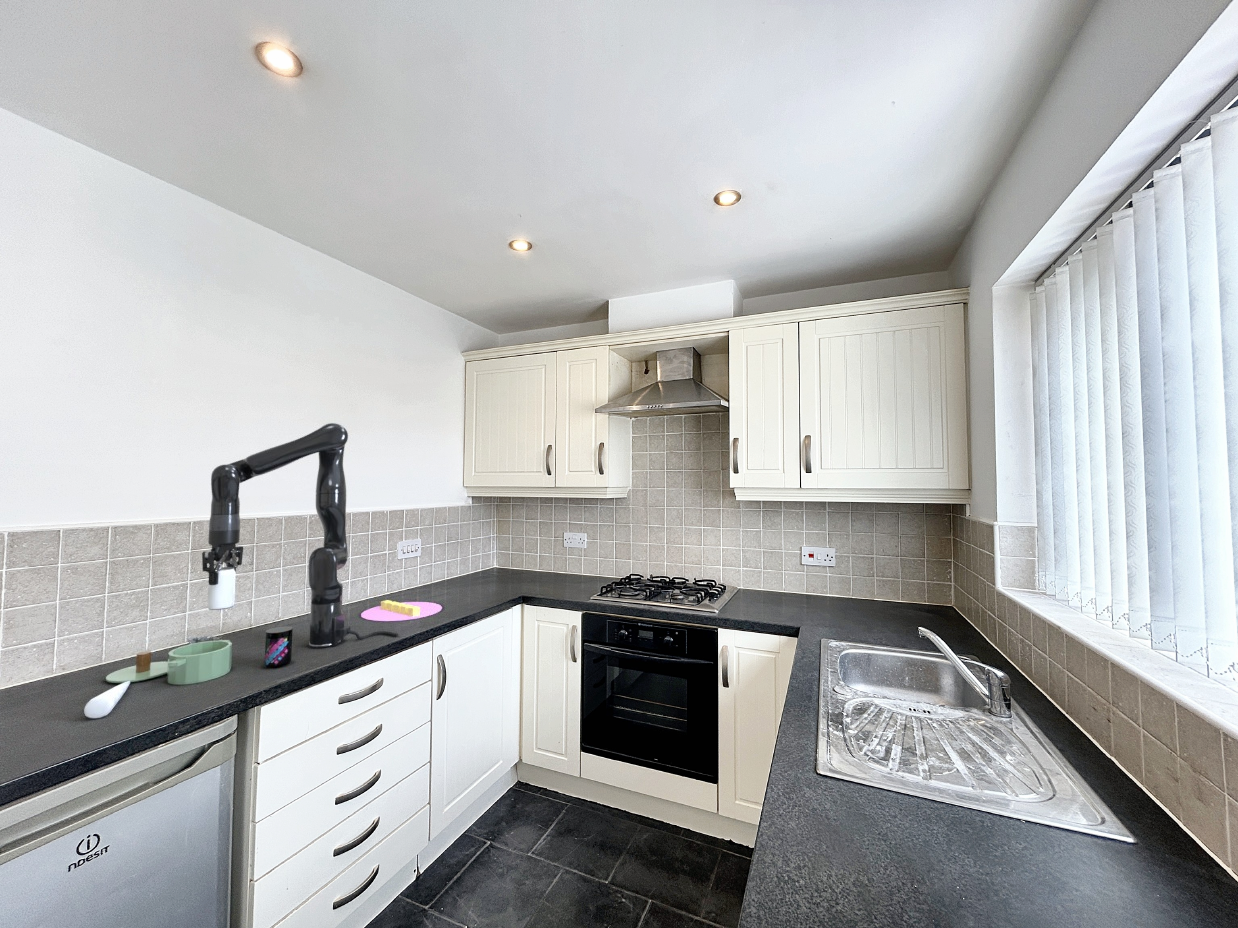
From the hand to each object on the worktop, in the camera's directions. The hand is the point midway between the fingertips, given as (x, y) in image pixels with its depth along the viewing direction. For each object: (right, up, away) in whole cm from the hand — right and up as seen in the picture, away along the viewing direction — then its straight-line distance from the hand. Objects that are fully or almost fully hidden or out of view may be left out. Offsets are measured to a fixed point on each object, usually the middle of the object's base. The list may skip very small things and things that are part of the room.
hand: (222, 582), depth 151 cm
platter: (+30, -27, +58) cm, 71 cm away
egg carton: (-12, -24, +8) cm, 28 cm away
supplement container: (+21, -24, -5) cm, 32 cm away
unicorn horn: (-3, -23, -30) cm, 38 cm away
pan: (+4, -23, -13) cm, 27 cm away
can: (0, -8, 0) cm, 8 cm away
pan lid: (-12, -22, -13) cm, 29 cm away
